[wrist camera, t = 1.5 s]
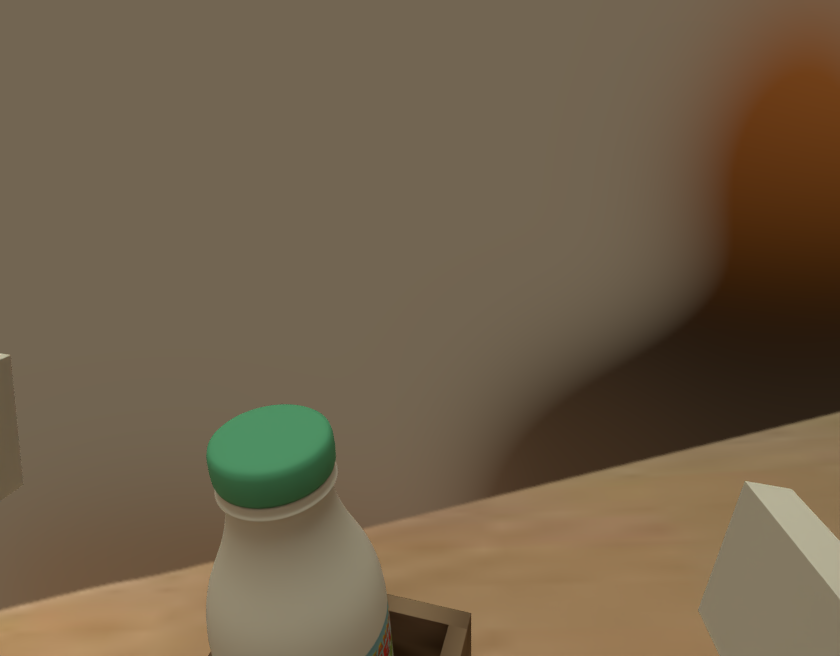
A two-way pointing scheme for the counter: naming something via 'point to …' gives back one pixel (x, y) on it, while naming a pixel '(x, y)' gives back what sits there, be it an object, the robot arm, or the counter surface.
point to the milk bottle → (289, 545)
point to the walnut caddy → (427, 629)
